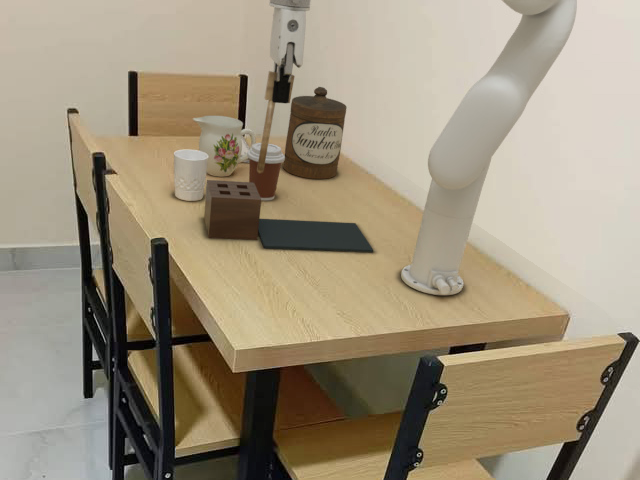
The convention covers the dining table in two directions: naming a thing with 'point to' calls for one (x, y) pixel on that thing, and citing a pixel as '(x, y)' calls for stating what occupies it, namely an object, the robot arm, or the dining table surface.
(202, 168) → the white cup
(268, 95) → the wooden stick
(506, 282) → the dining table surface
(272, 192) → the coffee cup
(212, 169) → the pitcher
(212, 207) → the utensil block
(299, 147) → the wooden container
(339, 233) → the mat
